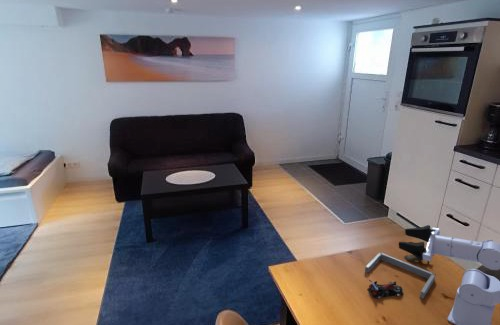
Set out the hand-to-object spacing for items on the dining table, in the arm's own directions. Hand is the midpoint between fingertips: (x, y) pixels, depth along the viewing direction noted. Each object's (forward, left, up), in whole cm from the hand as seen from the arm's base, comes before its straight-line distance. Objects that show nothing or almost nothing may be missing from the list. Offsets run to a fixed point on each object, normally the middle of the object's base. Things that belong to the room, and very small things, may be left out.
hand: (402, 238), depth 98 cm
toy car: (+2, +2, -21) cm, 21 cm away
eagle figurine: (0, -24, -21) cm, 32 cm away
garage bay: (+2, -9, -21) cm, 23 cm away
